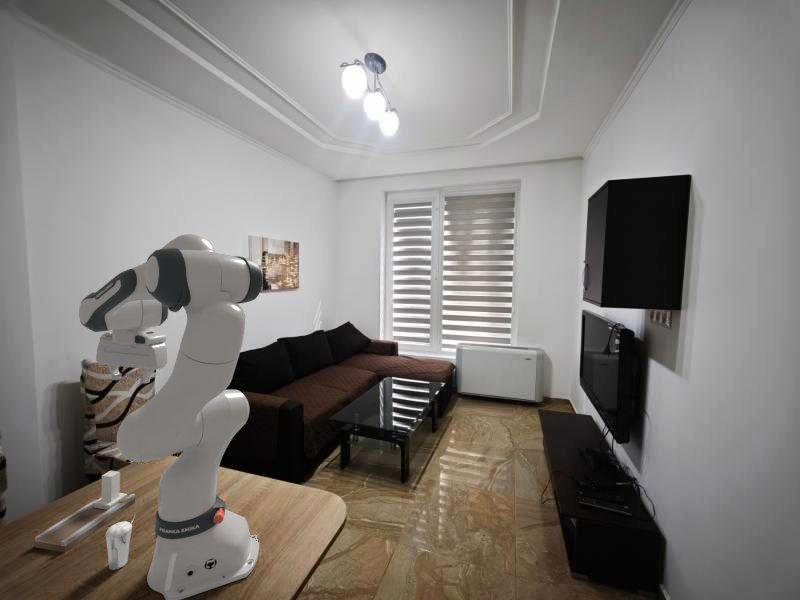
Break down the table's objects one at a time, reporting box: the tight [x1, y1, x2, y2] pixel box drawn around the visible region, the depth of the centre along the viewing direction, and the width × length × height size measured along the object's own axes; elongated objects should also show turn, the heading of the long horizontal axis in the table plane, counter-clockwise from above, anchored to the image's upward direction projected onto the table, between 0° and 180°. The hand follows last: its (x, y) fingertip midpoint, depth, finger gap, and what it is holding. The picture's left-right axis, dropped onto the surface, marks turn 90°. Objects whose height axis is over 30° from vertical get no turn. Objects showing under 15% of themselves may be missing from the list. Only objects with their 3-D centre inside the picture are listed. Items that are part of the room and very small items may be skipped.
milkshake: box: [105, 513, 137, 571], centre depth 76 cm, size 4×5×10 cm
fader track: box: [34, 493, 136, 554], centre depth 87 cm, size 18×8×3 cm, turn 173°
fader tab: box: [93, 470, 128, 510], centre depth 92 cm, size 5×5×8 cm
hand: (130, 381), depth 99 cm, fingers open, 8 cm apart
